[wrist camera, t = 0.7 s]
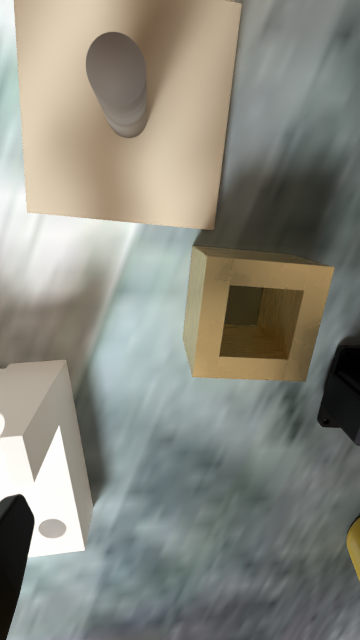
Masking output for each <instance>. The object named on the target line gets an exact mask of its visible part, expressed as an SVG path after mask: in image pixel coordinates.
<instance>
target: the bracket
mask: <svg viewBox="0 0 360 640" xmlns="http://www.w3.org/2000/svg"><path fill="white" fill-rule="evenodd" d="M16 494H22V495H23V496H24V497H25V499H26V501H27V503H28V505H29V507H30V509H31V511H32V513H33V515H34V519H35V525H34V530H33V535H32V539H31V544H30V549H29V554H28V557H35V556H43V555H51V554H59V553H67V552H76V551H84V550H85V548H86V543H87V538H88V532H89V527H90V522H91V517H92V512H93V503H92V497H91V492H90V486H89V481H88V475H87V470H86V464H85V459H84V453H83V448H82V442H81V437H80V431H79V426H78V420H77V415H76V409H75V404H74V399H73V393H72V388H71V382H70V377H69V371H68V366H67V360H52V361H39V362H26V363H13V364H9V365H8V366H7V367H6V368H5V369H0V501H1V500H2V499H3V498H5V497H7V496H11V495H16Z"/></svg>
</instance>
